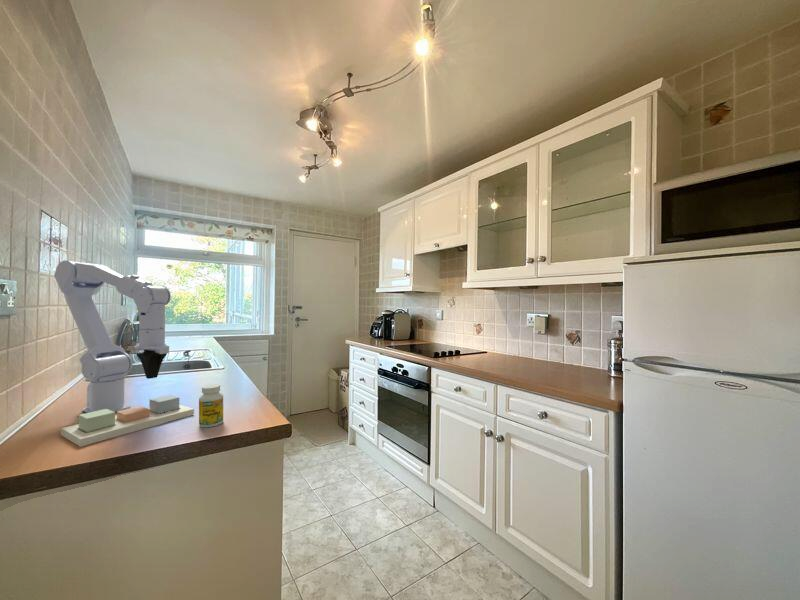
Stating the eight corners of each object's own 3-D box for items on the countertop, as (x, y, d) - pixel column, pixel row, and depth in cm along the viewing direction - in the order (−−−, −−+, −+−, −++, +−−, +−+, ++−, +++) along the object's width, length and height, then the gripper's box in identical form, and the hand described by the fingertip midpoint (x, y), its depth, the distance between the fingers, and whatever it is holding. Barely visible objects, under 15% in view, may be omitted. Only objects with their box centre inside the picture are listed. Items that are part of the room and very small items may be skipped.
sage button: (78, 427, 75) (78, 414, 75) (106, 421, 79) (106, 408, 79) (86, 432, 72) (86, 418, 72) (114, 424, 77) (115, 412, 77)
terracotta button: (116, 423, 81) (116, 411, 81) (140, 417, 85) (140, 405, 85) (125, 427, 78) (125, 414, 78) (149, 420, 83) (149, 409, 83)
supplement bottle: (222, 418, 86) (222, 382, 86) (224, 425, 81) (224, 386, 81) (198, 422, 83) (198, 385, 83) (199, 429, 78) (199, 390, 78)
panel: (61, 435, 75) (61, 428, 75) (171, 407, 95) (171, 402, 95) (80, 446, 69) (80, 439, 69) (193, 414, 89) (193, 408, 89)
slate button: (149, 410, 87) (149, 399, 87) (170, 405, 91) (170, 394, 91) (158, 413, 84) (158, 402, 84) (179, 408, 89) (179, 397, 89)
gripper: (123, 328, 90) (122, 377, 90) (147, 331, 83) (147, 384, 82) (152, 327, 96) (152, 372, 96) (177, 329, 89) (177, 378, 89)
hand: (151, 377), depth 90 cm, fingers closed
